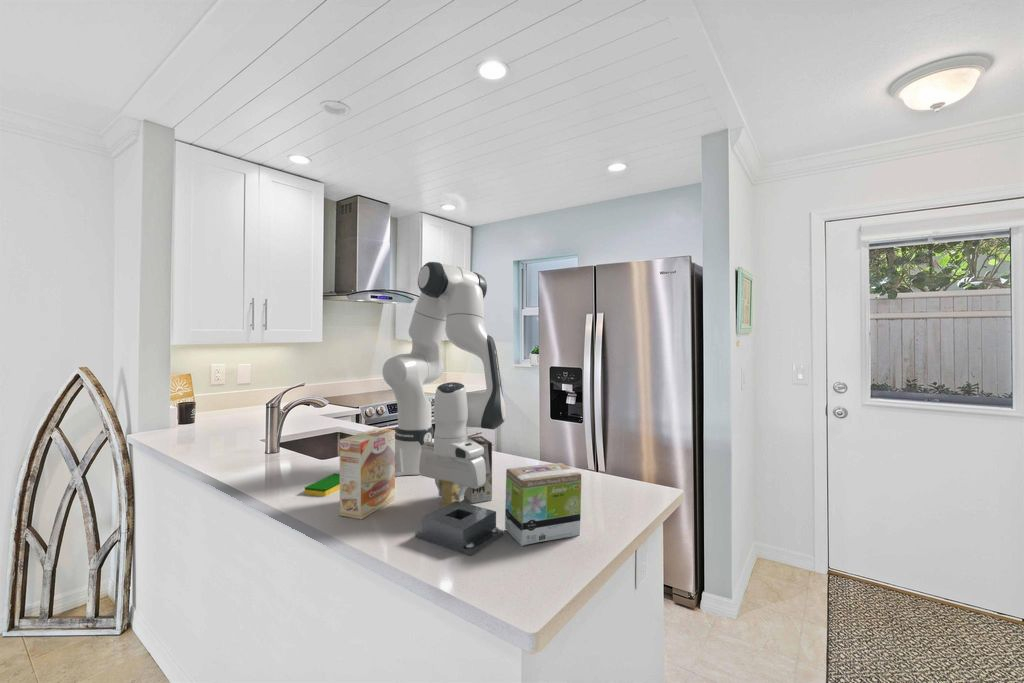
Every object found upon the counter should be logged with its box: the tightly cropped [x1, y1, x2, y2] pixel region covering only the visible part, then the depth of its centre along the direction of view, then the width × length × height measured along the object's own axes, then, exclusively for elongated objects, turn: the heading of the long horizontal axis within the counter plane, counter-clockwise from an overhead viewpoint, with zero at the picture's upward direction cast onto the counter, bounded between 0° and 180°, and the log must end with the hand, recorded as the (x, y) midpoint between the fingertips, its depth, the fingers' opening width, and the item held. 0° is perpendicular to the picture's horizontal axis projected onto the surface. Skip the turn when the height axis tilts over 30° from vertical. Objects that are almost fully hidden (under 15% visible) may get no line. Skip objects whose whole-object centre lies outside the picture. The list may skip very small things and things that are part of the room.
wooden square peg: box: [441, 480, 461, 508], centre depth 123 cm, size 4×4×8 cm
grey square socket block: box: [414, 501, 504, 556], centre depth 108 cm, size 16×12×5 cm
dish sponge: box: [304, 473, 340, 497], centre depth 140 cm, size 7×14×2 cm, turn 164°
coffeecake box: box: [339, 427, 396, 520], centre depth 124 cm, size 15×7×20 cm, turn 160°
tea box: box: [504, 462, 582, 547], centre depth 109 cm, size 15×10×15 cm, turn 114°
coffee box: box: [464, 435, 493, 504], centre depth 132 cm, size 9×6×16 cm
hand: (451, 498), depth 123 cm, fingers open, 4 cm apart
